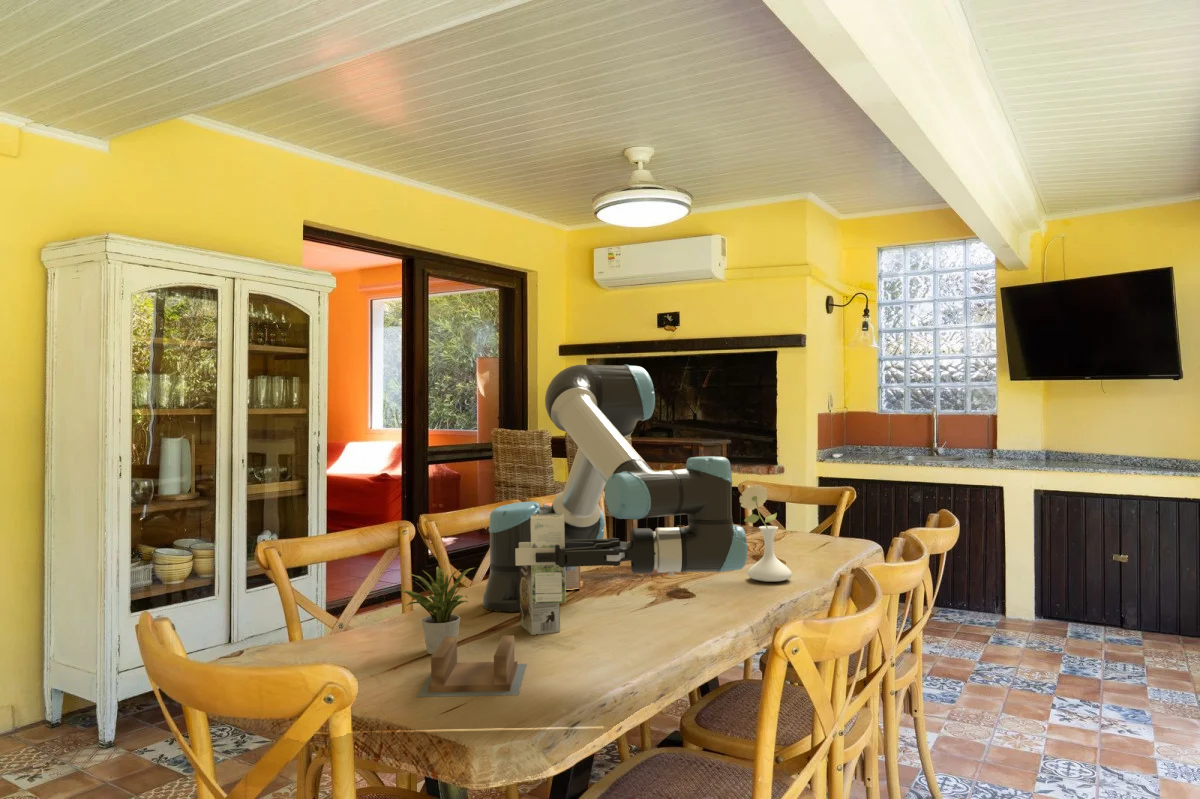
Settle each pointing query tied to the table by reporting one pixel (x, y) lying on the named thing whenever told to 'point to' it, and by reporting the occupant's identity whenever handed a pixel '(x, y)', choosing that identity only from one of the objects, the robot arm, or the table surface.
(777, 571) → the flower in vase
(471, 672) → the rack
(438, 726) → the table surface
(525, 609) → the coffee box
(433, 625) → the house plant
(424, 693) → the mat
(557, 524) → the syrup box
